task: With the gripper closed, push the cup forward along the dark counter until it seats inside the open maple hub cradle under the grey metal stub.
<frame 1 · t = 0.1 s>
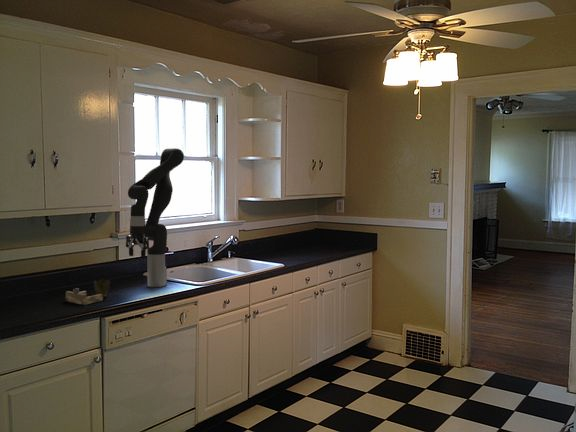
hand: (137, 256, 285), 17 cm above the counter, tool pointing down, fingers open, 8 cm apart
hub cradle: (84, 300, 262), on the counter
cup: (102, 297, 270), on the counter
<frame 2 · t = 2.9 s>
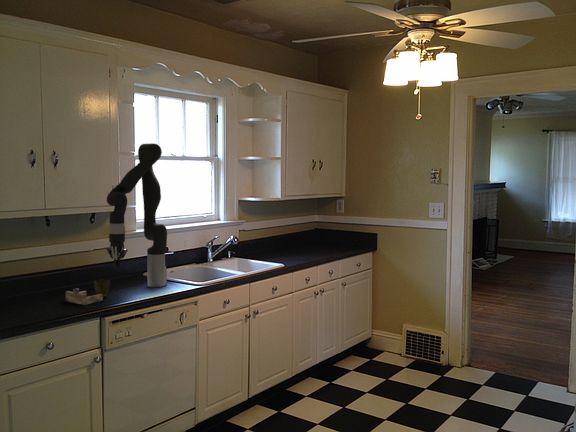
hand: (117, 267, 277), 13 cm above the counter, tool pointing down, fingers closed
nothing on the counter moved.
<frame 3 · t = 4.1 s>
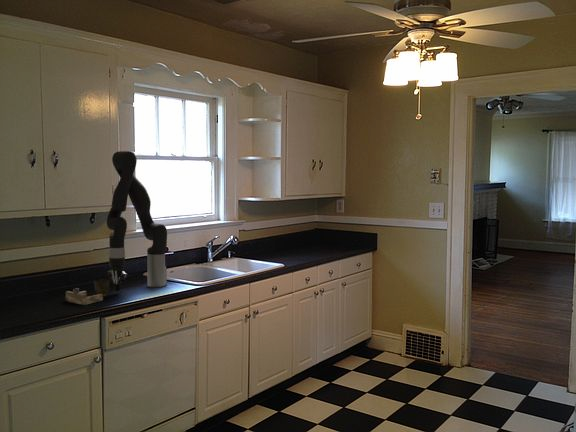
hand: (117, 290, 278), 1 cm above the counter, tool pointing down, fingers closed
nothing on the counter moved.
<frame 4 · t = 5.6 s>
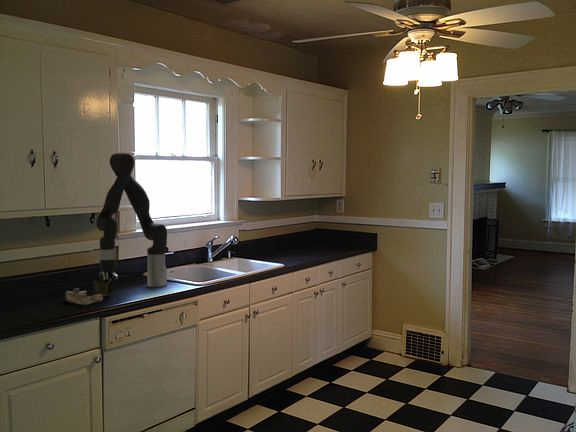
hand: (109, 292, 274), 1 cm above the counter, tool pointing down, fingers closed
cup: (102, 297, 270), on the counter, touching gripper
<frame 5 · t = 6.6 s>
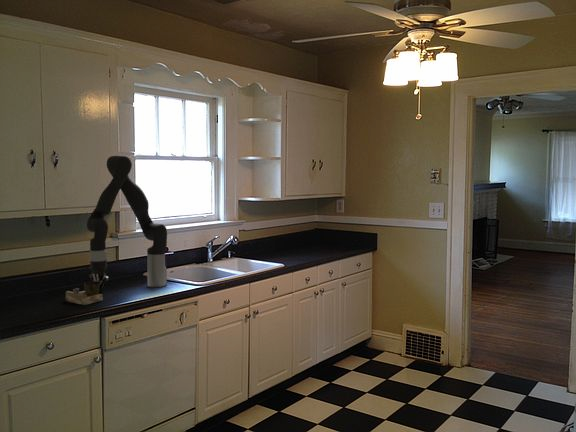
hand: (99, 294, 269), 1 cm above the counter, tool pointing down, fingers closed
cup: (92, 299, 265), on the counter, touching gripper
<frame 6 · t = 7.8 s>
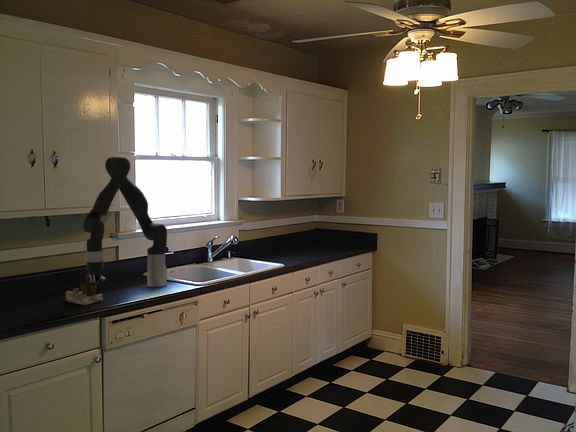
hand: (96, 295, 267), 1 cm above the counter, tool pointing down, fingers closed
cup: (89, 300, 264), on the counter, touching gripper
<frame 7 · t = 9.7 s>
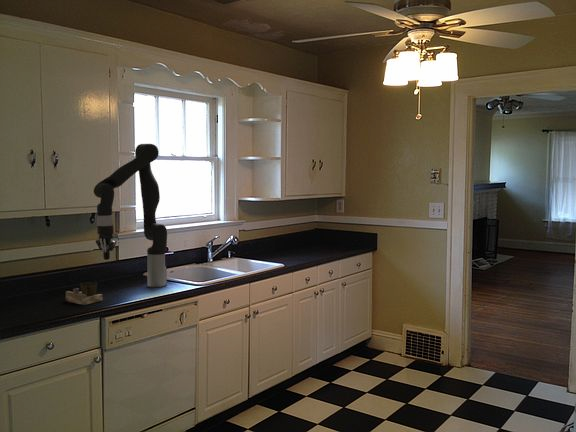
hand: (106, 259, 275), 17 cm above the counter, tool pointing down, fingers closed
cup: (89, 300, 264), on the counter
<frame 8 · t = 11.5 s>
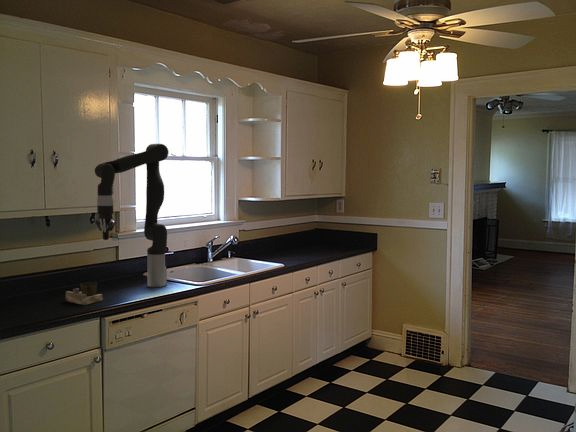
hand: (105, 239, 275), 27 cm above the counter, tool pointing down, fingers closed
nothing on the counter moved.
at the end: cup inside the target area (3.0 cm from its centre), on the counter; cup tilted 0°; cup moved 7.8 cm from its start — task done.
